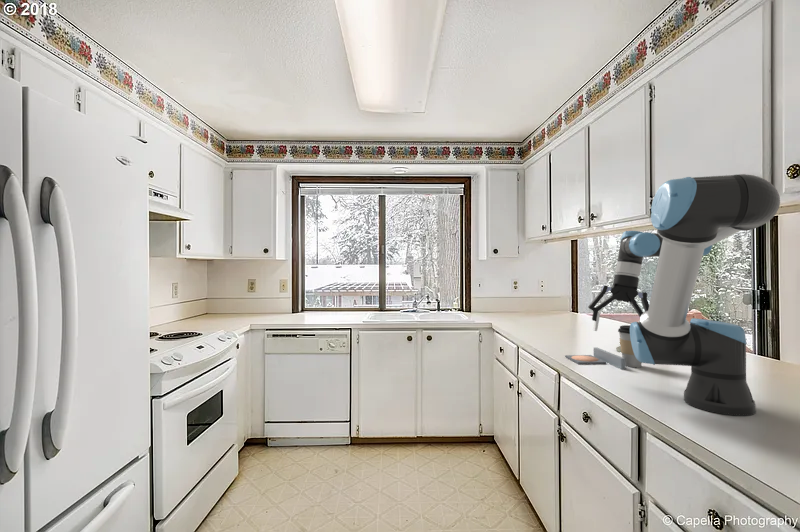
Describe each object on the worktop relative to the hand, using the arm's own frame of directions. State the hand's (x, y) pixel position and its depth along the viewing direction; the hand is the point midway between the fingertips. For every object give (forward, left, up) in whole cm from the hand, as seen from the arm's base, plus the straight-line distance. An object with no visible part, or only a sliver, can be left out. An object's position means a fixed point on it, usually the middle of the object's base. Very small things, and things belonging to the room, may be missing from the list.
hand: (616, 334), depth 135 cm
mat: (+22, 0, -14) cm, 27 cm away
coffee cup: (+13, -14, -15) cm, 24 cm away
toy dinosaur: (+45, -29, -15) cm, 55 cm away
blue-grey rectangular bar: (+18, -7, -14) cm, 24 cm away
